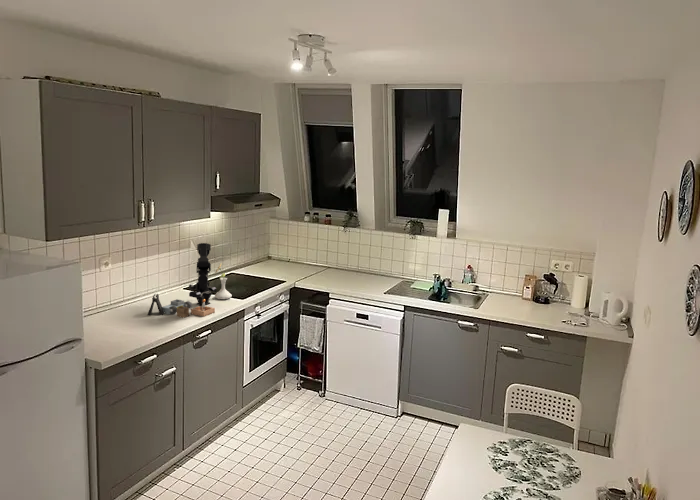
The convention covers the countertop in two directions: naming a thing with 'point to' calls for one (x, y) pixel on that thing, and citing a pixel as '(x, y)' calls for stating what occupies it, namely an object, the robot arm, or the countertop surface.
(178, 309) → the taped cardboard box
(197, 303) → the robot arm
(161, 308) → the phone stand
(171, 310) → the dolly
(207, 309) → the open tan box
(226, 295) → the flower in vase
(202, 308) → the pin
